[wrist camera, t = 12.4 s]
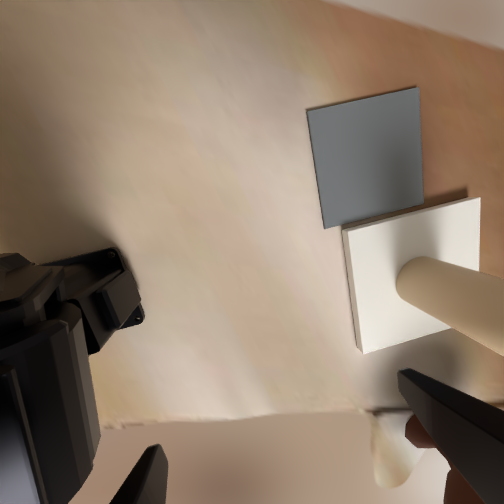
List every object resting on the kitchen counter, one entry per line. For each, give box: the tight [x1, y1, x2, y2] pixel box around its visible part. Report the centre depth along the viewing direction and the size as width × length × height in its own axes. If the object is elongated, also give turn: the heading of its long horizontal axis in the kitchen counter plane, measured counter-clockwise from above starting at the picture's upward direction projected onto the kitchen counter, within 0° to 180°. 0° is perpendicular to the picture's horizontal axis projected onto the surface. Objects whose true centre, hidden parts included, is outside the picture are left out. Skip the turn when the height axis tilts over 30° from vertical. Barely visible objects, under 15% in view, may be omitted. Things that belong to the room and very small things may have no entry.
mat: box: [307, 87, 424, 229], centre depth 19 cm, size 9×9×1 cm
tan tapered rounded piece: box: [396, 256, 504, 356], centre depth 15 cm, size 4×4×12 cm
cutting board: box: [342, 197, 480, 354], centre depth 21 cm, size 12×12×1 cm
